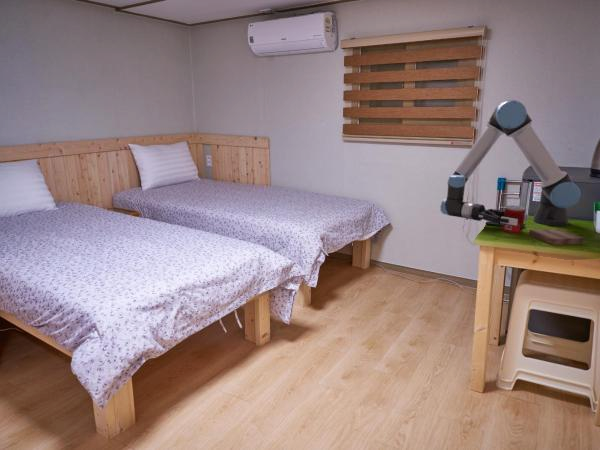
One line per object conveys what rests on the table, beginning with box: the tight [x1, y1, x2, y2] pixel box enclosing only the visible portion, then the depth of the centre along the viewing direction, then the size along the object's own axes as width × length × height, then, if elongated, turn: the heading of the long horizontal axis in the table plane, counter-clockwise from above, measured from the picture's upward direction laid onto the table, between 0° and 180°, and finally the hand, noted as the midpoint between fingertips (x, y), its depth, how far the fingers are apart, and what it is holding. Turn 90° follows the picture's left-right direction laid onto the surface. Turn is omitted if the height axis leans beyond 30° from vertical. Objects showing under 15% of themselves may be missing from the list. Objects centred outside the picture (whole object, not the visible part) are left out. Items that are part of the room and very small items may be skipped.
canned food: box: [502, 205, 526, 235], centre depth 201 cm, size 8×8×11 cm
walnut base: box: [528, 228, 584, 246], centre depth 190 cm, size 14×14×2 cm
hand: (522, 219), depth 198 cm, fingers open, 12 cm apart
